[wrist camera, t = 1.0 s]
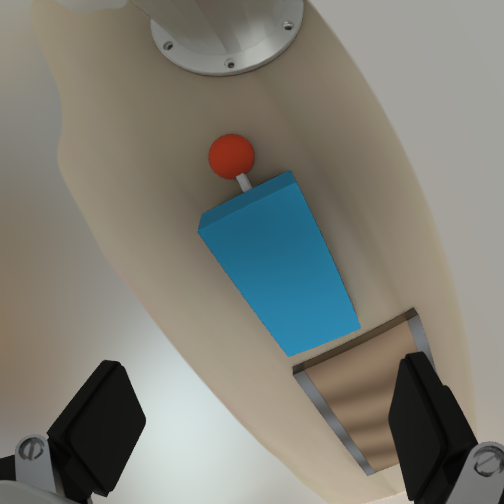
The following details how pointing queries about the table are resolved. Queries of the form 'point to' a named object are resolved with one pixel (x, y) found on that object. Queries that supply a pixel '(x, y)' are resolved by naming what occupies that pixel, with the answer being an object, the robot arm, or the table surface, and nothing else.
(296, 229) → the lever
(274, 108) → the table surface
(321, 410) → the ribbed board
